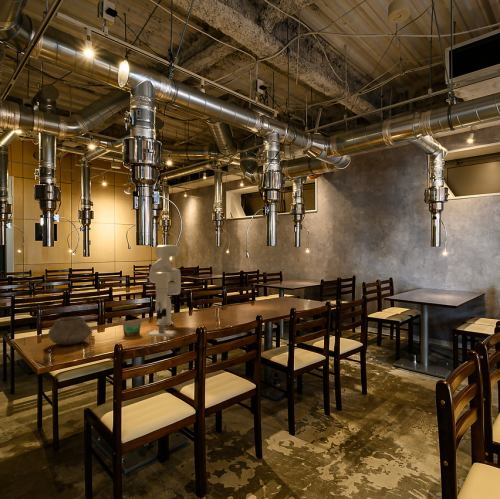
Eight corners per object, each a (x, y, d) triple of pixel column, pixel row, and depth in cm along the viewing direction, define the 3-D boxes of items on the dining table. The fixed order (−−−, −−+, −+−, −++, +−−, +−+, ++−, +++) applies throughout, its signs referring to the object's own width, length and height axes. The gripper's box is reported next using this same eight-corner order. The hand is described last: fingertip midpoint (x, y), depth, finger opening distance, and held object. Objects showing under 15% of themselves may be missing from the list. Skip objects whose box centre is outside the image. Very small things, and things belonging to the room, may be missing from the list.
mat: (152, 332, 222) (152, 331, 222) (177, 332, 221) (177, 331, 221) (145, 337, 209) (145, 336, 209) (171, 337, 208) (171, 336, 208)
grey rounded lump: (80, 337, 210) (81, 313, 210) (96, 343, 196) (97, 317, 196) (42, 344, 193) (42, 319, 193) (57, 351, 179) (57, 323, 180)
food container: (120, 338, 206) (120, 322, 206) (121, 336, 212) (121, 320, 212) (141, 337, 209) (141, 321, 209) (141, 335, 215) (141, 319, 215)
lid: (152, 332, 220) (152, 323, 220) (175, 332, 220) (175, 323, 220) (147, 335, 210) (147, 326, 210) (170, 335, 210) (170, 326, 210)
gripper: (160, 290, 224) (160, 315, 223) (151, 292, 206) (151, 320, 206) (171, 290, 223) (171, 315, 223) (163, 292, 206) (163, 320, 206)
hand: (161, 317), depth 214 cm, fingers open, 9 cm apart
